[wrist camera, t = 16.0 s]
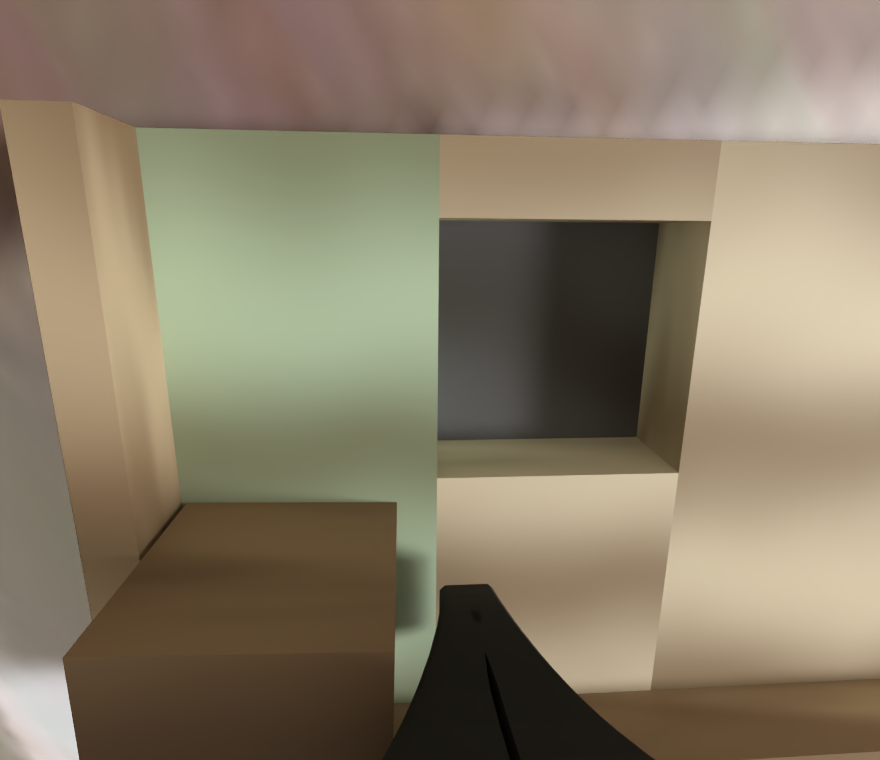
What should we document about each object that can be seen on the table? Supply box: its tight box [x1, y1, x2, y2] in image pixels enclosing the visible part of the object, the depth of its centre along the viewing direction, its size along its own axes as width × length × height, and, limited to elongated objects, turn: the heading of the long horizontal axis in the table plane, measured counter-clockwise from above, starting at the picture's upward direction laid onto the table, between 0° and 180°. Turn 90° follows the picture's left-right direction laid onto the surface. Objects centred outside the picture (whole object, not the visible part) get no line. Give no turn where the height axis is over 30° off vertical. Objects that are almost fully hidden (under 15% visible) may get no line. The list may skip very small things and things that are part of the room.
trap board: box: [0, 100, 880, 760], centre depth 13 cm, size 14×30×4 cm, turn 89°
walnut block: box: [63, 502, 397, 760], centre depth 10 cm, size 4×4×4 cm
